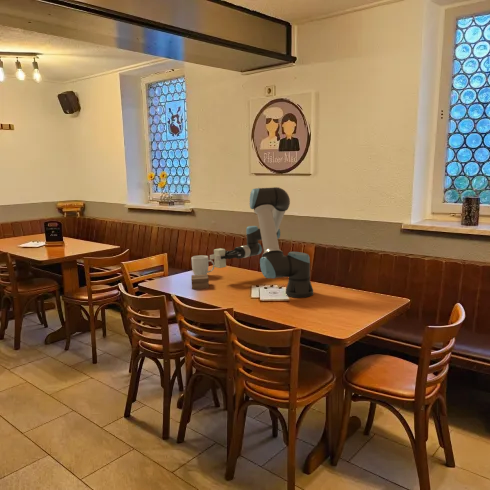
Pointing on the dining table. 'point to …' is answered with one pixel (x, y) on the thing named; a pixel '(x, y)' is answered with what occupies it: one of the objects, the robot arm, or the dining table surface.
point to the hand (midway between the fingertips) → (213, 257)
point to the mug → (201, 265)
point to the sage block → (219, 262)
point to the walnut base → (200, 281)
